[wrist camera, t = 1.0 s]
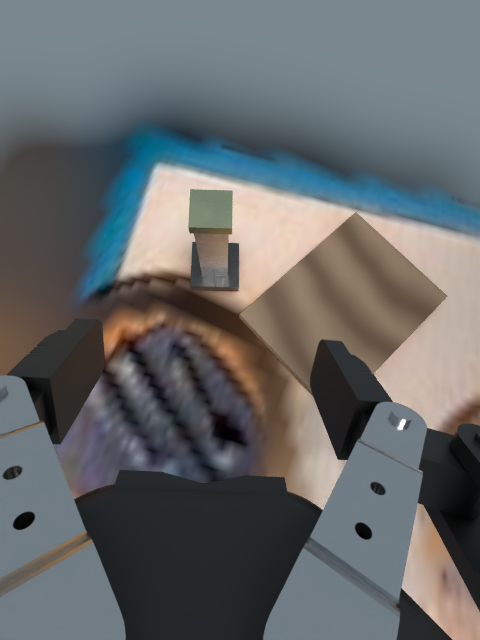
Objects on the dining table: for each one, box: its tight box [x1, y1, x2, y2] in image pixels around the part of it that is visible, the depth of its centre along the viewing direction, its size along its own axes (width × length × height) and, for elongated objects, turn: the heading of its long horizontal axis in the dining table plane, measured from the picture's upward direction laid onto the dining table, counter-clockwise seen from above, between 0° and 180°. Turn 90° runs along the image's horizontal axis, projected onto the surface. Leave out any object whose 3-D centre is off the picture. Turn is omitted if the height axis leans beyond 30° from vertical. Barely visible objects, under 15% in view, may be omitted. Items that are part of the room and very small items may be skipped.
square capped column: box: [189, 189, 239, 291], centre depth 34 cm, size 6×6×13 cm
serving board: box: [239, 213, 447, 395], centre depth 39 cm, size 20×15×2 cm
